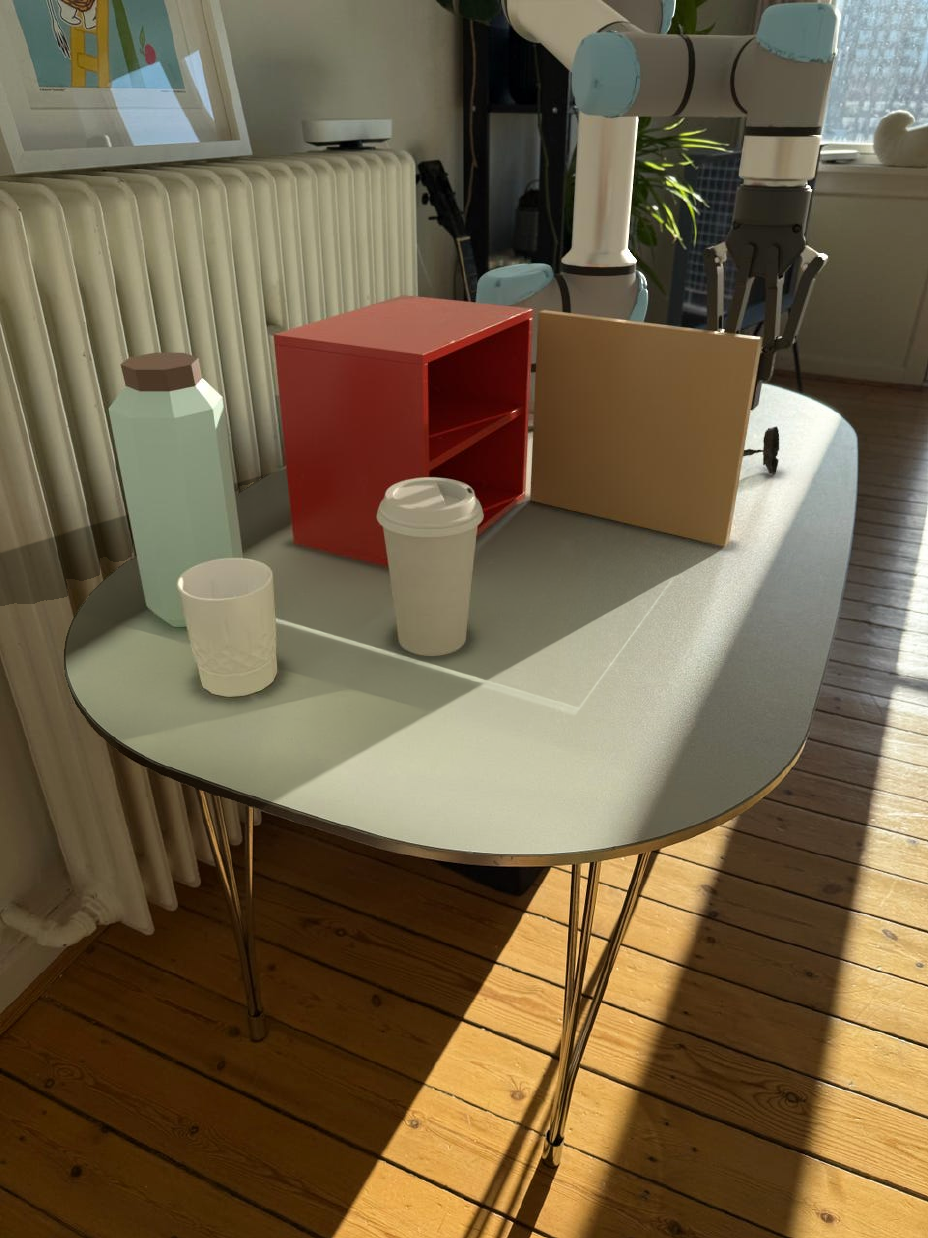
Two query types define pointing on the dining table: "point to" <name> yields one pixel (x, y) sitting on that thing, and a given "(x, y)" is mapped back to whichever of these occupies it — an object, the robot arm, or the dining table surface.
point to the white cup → (231, 624)
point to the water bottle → (174, 473)
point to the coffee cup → (430, 560)
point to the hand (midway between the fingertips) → (740, 404)
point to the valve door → (642, 422)
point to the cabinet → (401, 412)
